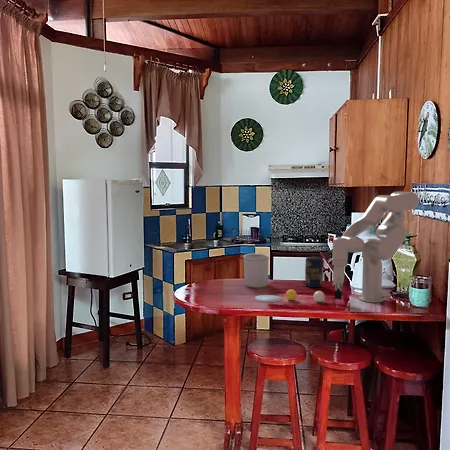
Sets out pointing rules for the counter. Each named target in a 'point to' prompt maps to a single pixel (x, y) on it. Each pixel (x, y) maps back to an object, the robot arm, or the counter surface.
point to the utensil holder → (256, 270)
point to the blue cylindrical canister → (313, 271)
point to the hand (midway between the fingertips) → (337, 298)
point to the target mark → (268, 298)
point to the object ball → (291, 294)
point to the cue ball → (319, 296)
